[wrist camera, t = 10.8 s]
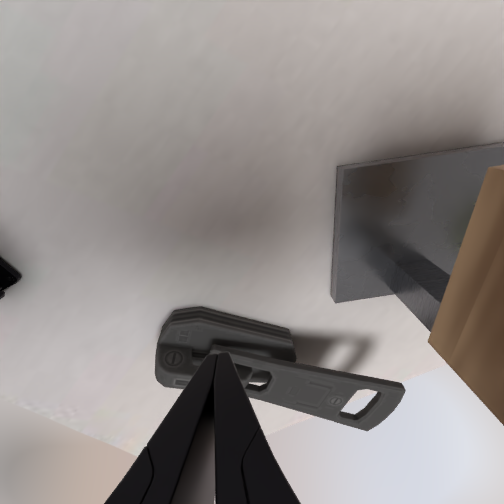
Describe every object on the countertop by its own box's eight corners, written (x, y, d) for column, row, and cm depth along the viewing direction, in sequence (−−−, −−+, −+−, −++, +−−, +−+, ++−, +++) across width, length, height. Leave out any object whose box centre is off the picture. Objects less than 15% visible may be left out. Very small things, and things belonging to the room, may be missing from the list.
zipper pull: (371, 436, 28) (138, 422, 22) (346, 380, 33) (156, 359, 28) (417, 389, 24) (147, 358, 18) (380, 335, 29) (166, 300, 24)
